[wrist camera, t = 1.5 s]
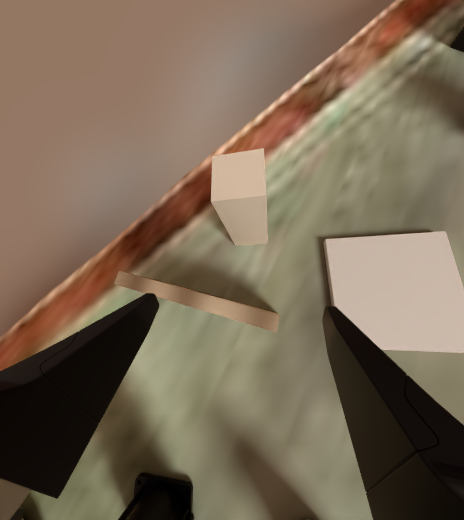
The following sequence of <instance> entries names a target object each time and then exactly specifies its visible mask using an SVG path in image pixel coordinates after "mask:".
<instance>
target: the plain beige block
mask: <svg viewBox="0 0 464 520" xmlns="http://www.w3.org/2000/svg"><path fill="white" fill-rule="evenodd" d="M211 203H212V204H213V206H214V208H215V210H216V212H217V214H218V215H219V217H220V219H221V221H222V223H223V224H224V226H225V228H226V230H227V232H228V233H229V235H230V237H231V239H232V241H233V242H234V244H235V246H237V245H253V244H268V232H267V203H266V181H265V162H264V148H263V149H256V150H250V151H244V152H238V153H232V154H226V155H220V156H213V157H212V183H211Z"/></svg>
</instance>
